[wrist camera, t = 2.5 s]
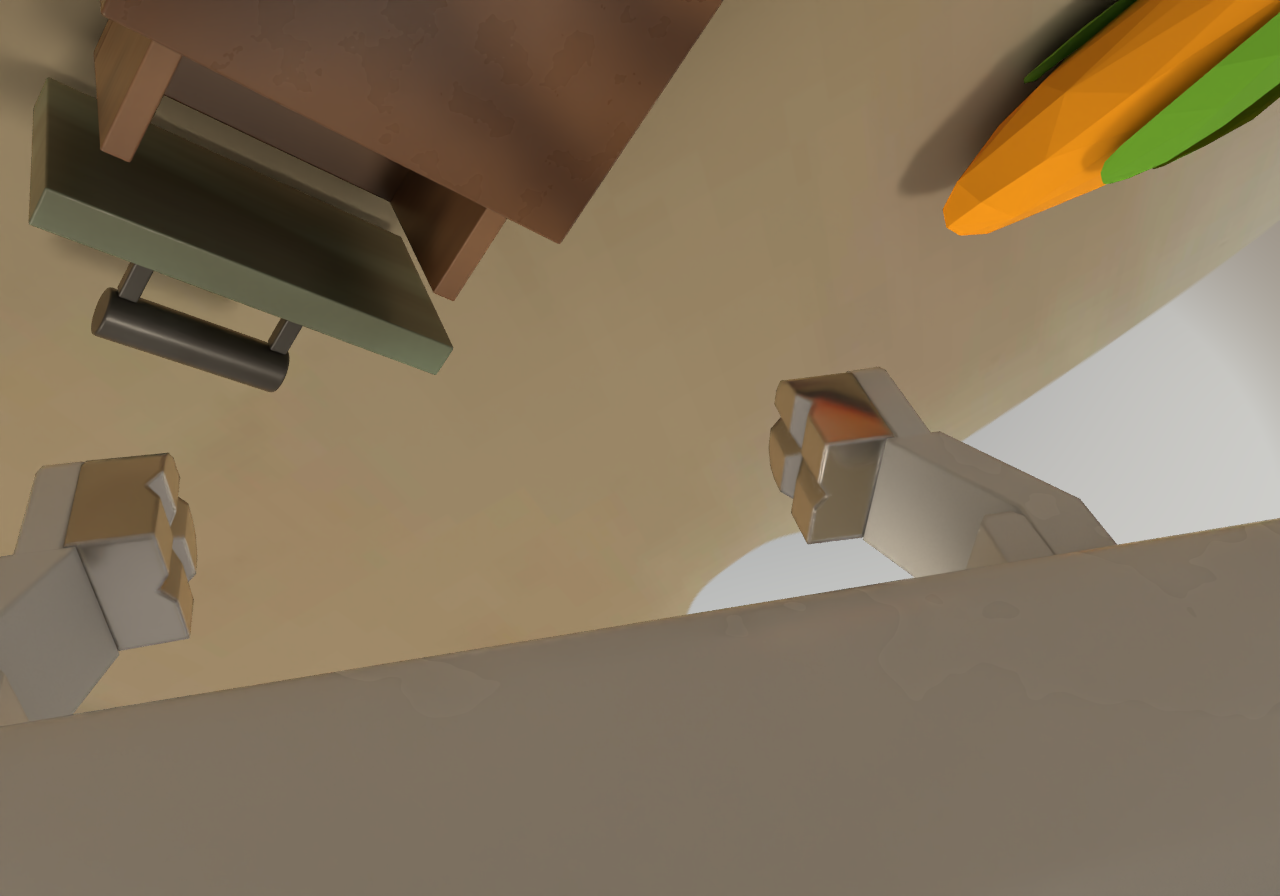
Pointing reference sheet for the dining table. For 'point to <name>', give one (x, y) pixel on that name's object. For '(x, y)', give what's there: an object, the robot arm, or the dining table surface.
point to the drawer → (241, 220)
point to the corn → (1123, 105)
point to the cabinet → (452, 81)
